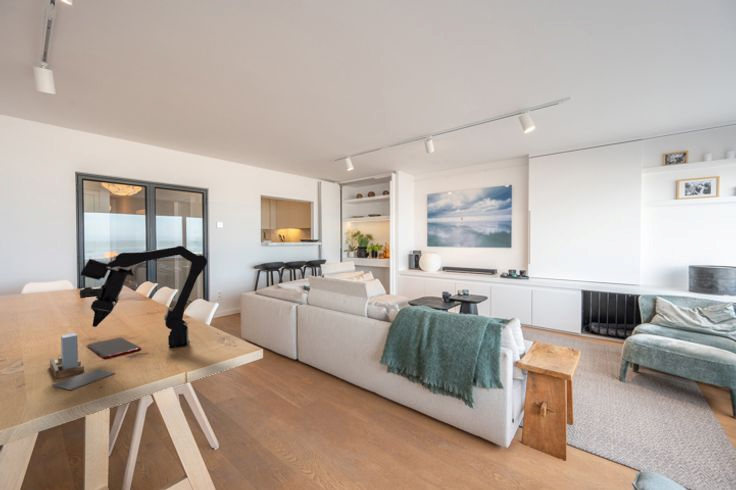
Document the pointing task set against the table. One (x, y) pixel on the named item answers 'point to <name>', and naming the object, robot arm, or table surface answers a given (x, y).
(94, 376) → the mat
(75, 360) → the block
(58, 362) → the offcut stack
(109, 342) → the smartphone
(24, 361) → the table surface
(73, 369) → the rack
